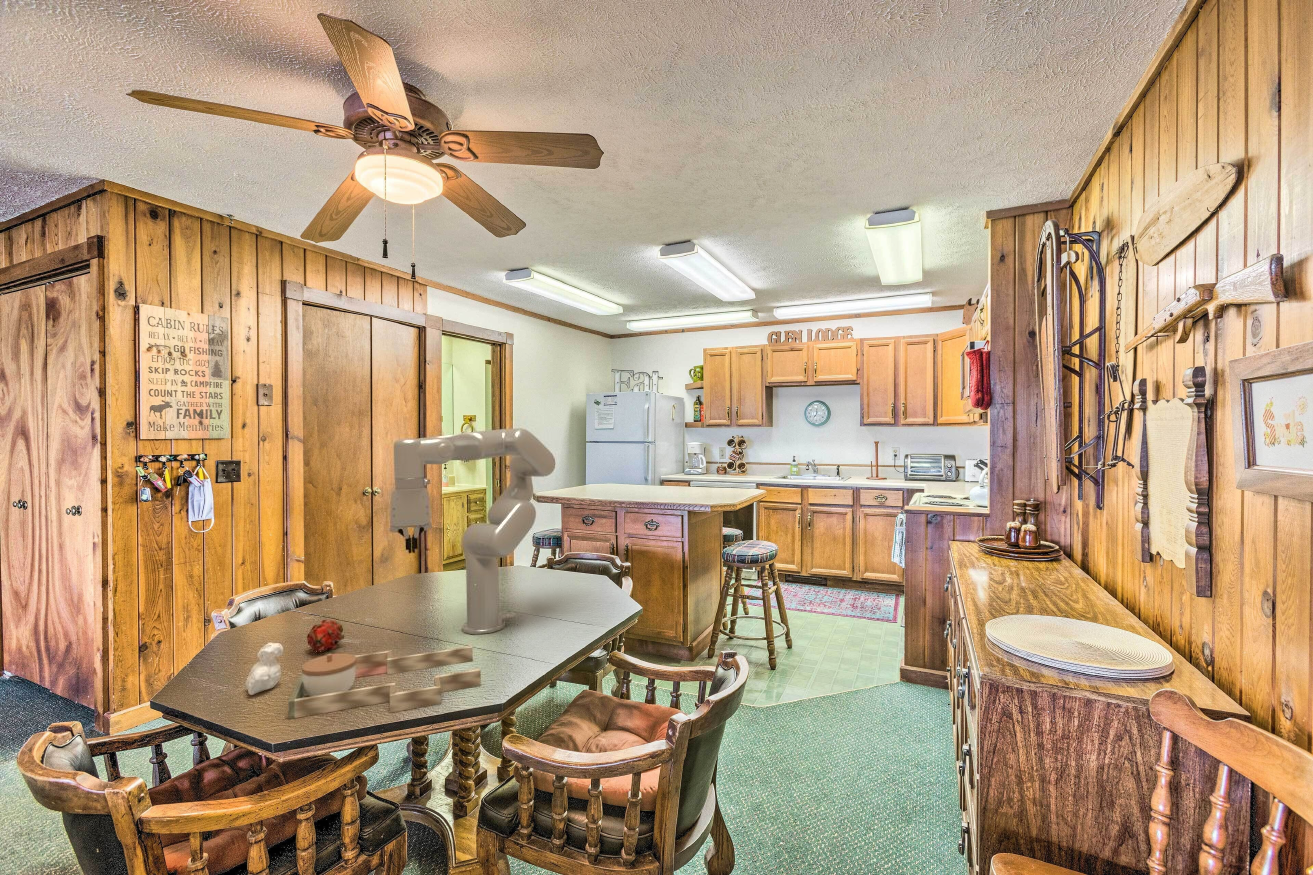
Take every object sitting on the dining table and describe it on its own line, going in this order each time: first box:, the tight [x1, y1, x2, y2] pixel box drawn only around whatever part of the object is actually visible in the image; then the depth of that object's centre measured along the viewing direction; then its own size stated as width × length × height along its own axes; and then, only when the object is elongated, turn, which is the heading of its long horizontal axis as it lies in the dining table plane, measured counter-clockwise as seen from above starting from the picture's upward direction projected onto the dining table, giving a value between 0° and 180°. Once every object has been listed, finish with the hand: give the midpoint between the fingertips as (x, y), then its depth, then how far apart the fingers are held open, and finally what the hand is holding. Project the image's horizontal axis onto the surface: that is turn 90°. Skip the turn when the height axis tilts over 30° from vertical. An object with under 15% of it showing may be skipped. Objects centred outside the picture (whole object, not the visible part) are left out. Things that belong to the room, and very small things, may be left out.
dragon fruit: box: [306, 619, 346, 655], centre depth 163 cm, size 8×8×12 cm
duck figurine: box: [245, 641, 284, 696], centre depth 138 cm, size 12×8×11 cm
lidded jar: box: [301, 653, 357, 697], centre depth 132 cm, size 11×11×9 cm
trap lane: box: [288, 645, 482, 720], centre depth 137 cm, size 38×30×4 cm
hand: (411, 552), depth 160 cm, fingers closed
